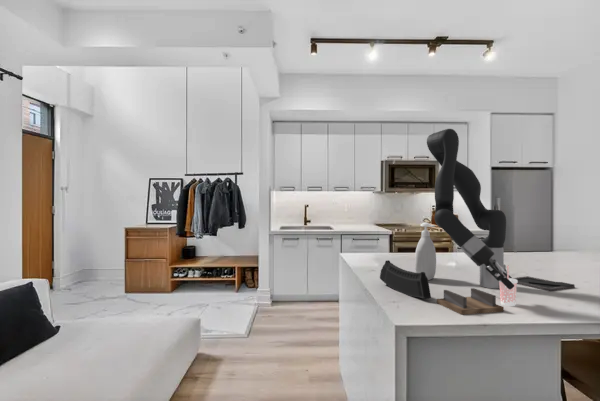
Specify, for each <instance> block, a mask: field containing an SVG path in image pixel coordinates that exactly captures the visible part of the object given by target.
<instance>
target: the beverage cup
mask: <svg viewBox="0 0 600 401" xmlns="http://www.w3.org/2000/svg"><path fill="white" fill-rule="evenodd" d="M509 269H510V267H509V265H508V264H507V265H506V271H507V278H508V279H509V280H510V281H511V282H512V283H513V284H514V287H513V288H512V289H508V288H507V287H506V286H505V285H504V284H503V283H502V282H500V281H499V286H500V288H499V296H500V298H499V299H500V305H501V306H505V307H515V306H516V304H517V303H516V301H517V286H518V284H517V283H518V280H517V279H513V278H514V277H512V278H509V275H510V274H509V272H510V271H509Z"/></svg>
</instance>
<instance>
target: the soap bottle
mask: <svg viewBox="0 0 600 401" xmlns="http://www.w3.org/2000/svg"><path fill="white" fill-rule="evenodd" d="M419 226H420V227H422V228H424V229H423V230H422V231H421V236H420V239H419V240H418V242H417V245H416V248H415V253H414V273H421V272H425V275H426V277H427V278H428V281H430V280H433V279H434V278H435V275H436V272H437V253H436V247H435V244H434V241H433V240H432V238H431V234H430V231H429V230H428V227H430V228H431V227H432V228H435V227H436V225H435V224H431V223H429V222H426V221H425V222H424V221H423V222H422V223H421V224H420V225H419Z"/></svg>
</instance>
